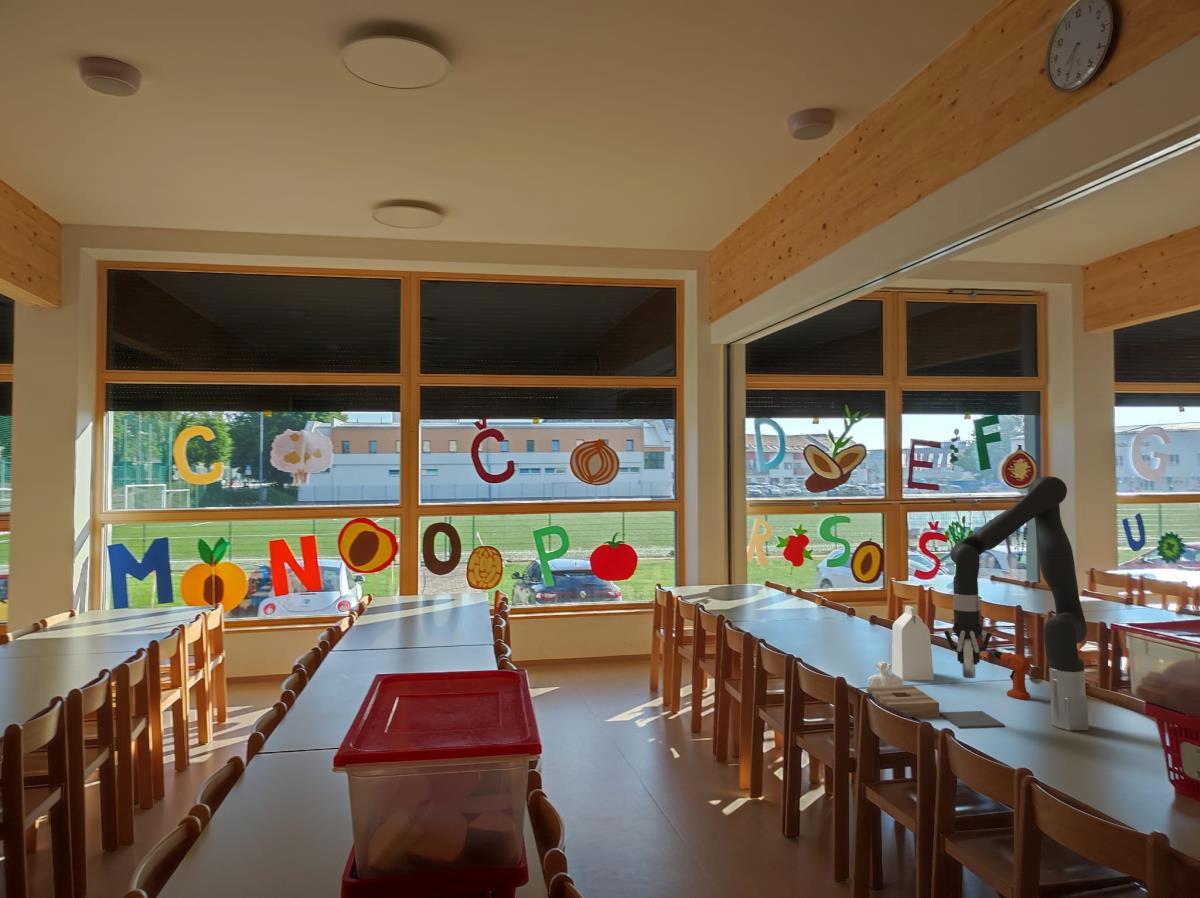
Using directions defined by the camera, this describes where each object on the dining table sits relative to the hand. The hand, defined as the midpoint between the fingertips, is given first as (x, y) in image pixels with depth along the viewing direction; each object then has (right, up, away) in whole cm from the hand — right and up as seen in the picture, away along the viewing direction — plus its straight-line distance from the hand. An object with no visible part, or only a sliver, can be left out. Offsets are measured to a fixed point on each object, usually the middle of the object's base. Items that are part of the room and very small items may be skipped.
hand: (968, 663), depth 246 cm
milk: (+4, -19, +53) cm, 57 cm away
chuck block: (-16, -18, +13) cm, 28 cm away
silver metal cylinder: (0, -4, 0) cm, 4 cm away
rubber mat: (0, -18, -1) cm, 18 cm away
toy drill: (+26, -18, +27) cm, 41 cm away
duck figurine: (-14, -19, +33) cm, 41 cm away
